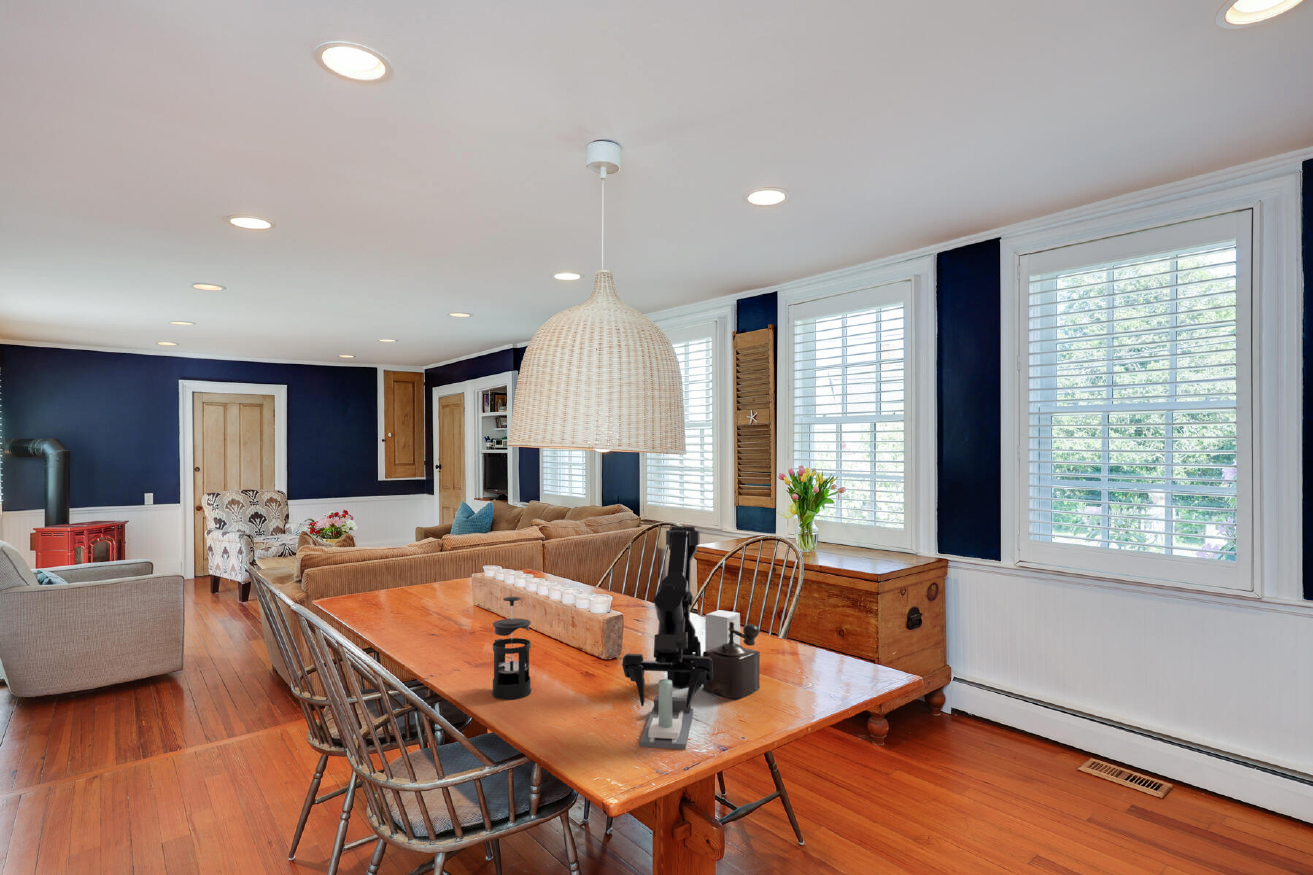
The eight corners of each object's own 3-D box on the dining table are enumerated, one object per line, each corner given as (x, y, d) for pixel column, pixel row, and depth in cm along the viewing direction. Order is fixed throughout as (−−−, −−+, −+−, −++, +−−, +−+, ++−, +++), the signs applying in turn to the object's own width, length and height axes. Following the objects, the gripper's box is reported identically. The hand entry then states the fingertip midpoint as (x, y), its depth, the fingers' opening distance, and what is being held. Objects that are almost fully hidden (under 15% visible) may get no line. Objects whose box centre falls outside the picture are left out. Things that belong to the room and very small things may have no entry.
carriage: (653, 723, 145) (653, 675, 145) (681, 724, 144) (681, 676, 144) (648, 737, 138) (648, 686, 138) (678, 738, 137) (678, 687, 137)
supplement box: (727, 663, 190) (727, 617, 191) (704, 658, 195) (704, 613, 195) (740, 657, 196) (740, 612, 197) (718, 652, 201) (718, 608, 201)
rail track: (653, 710, 156) (653, 695, 156) (693, 712, 155) (693, 696, 155) (640, 746, 137) (640, 728, 137) (685, 749, 136) (685, 731, 136)
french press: (540, 693, 167) (540, 597, 168) (507, 703, 161) (507, 603, 161) (513, 682, 176) (513, 590, 176) (480, 691, 169) (480, 596, 169)
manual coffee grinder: (699, 691, 169) (699, 616, 169) (726, 679, 177) (725, 609, 178) (753, 706, 159) (753, 627, 159) (779, 693, 167) (778, 618, 167)
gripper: (623, 615, 147) (613, 685, 136) (712, 618, 144) (709, 689, 133) (630, 642, 154) (621, 711, 143) (714, 645, 152) (711, 715, 141)
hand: (664, 706), depth 140 cm, fingers open, 9 cm apart
